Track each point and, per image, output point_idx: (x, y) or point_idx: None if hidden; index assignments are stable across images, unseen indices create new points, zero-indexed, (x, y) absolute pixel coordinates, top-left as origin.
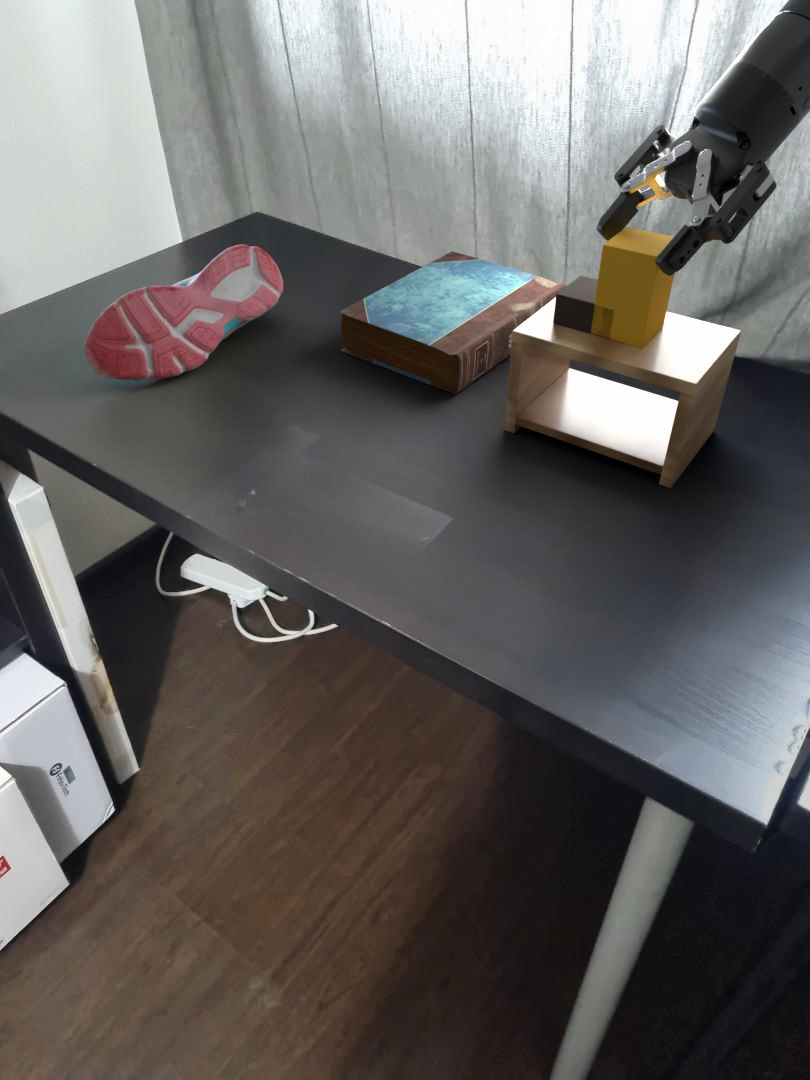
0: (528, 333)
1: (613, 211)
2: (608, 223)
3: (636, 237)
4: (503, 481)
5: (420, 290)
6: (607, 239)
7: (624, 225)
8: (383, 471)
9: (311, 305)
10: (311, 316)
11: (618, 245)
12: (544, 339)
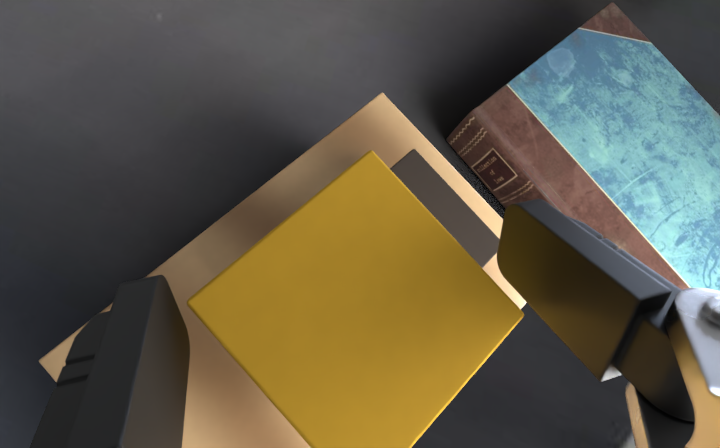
0: (364, 114)
1: (570, 240)
2: (530, 229)
3: (411, 302)
4: (238, 131)
5: (674, 124)
6: (498, 247)
7: (542, 312)
8: (298, 14)
9: (688, 41)
10: (659, 34)
11: (347, 196)
12: (333, 133)
